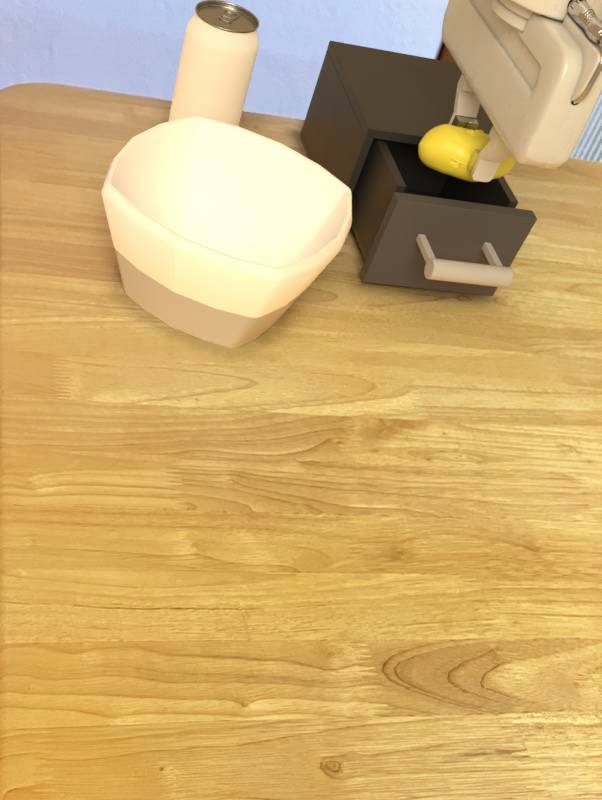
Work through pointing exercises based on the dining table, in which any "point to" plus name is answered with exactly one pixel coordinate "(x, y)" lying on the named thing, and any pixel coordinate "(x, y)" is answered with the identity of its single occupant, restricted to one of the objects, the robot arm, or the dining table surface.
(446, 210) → the drawer
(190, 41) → the can
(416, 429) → the dining table surface
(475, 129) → the robot arm
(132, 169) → the bowl
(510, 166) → the lemon
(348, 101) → the cabinet
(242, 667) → the dining table surface
